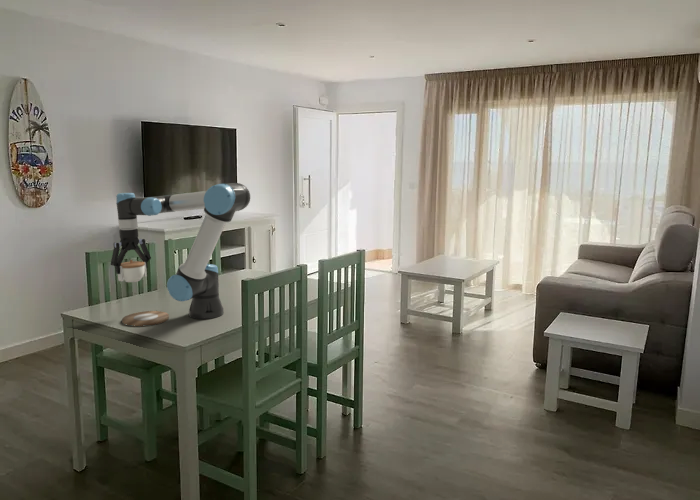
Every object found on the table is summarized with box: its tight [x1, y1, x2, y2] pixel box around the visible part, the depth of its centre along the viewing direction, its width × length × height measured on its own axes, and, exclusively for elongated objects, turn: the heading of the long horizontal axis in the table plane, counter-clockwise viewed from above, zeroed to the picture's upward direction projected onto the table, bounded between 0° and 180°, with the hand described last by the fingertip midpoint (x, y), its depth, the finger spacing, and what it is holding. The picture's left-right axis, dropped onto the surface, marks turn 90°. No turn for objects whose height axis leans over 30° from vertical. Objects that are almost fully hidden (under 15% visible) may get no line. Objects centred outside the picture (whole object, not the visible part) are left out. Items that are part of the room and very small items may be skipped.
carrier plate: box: [121, 310, 170, 327], centre depth 236 cm, size 19×19×1 cm
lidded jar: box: [120, 259, 145, 283], centre depth 237 cm, size 11×11×9 cm
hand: (132, 278), depth 238 cm, fingers closed on lidded jar, 11 cm apart
